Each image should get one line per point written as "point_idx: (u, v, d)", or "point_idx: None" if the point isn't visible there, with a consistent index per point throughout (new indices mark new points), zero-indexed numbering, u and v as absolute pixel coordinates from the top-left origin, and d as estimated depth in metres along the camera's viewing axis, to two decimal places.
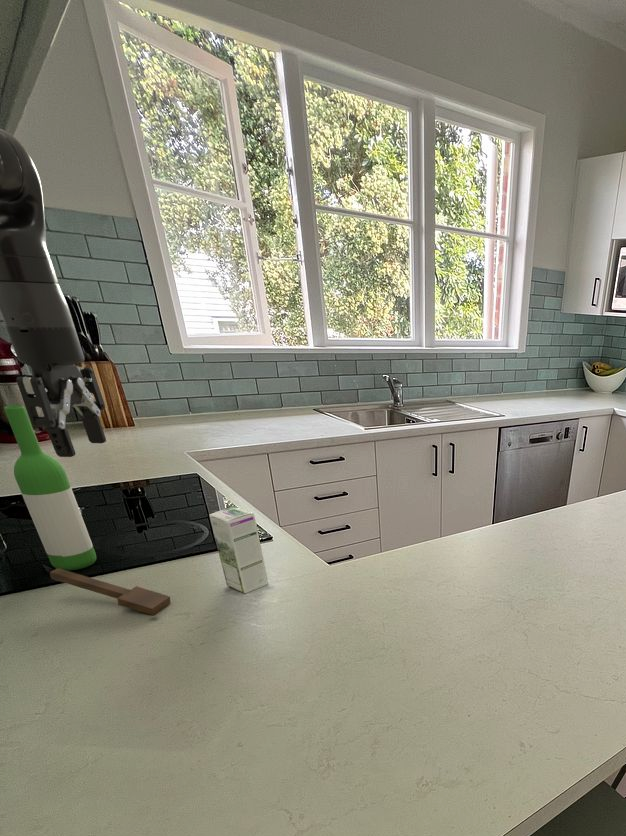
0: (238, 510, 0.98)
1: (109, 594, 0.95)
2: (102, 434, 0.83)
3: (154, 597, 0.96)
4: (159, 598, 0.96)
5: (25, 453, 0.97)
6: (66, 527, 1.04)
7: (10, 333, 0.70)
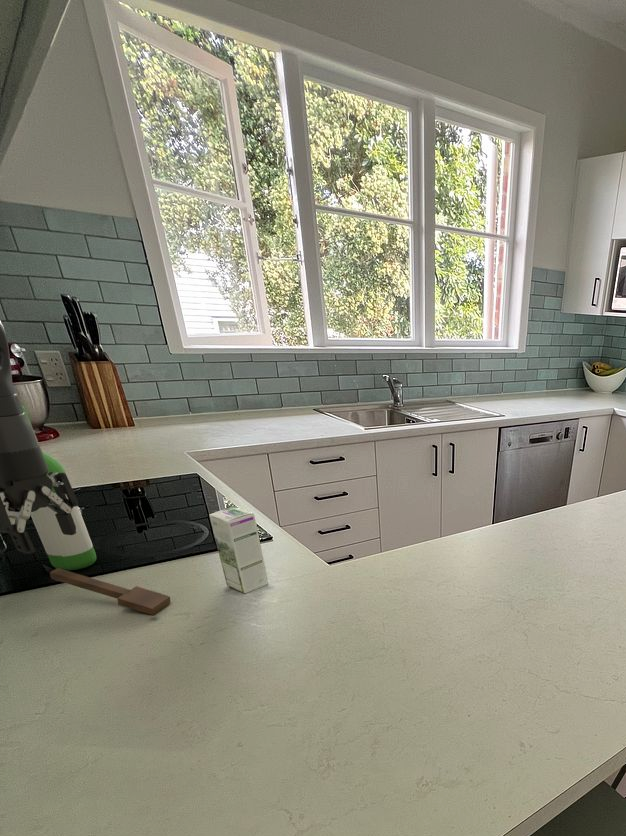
0: (238, 510, 0.98)
1: (109, 594, 0.95)
2: (72, 528, 0.95)
3: (154, 597, 0.96)
4: (159, 598, 0.96)
5: None
6: None
7: None
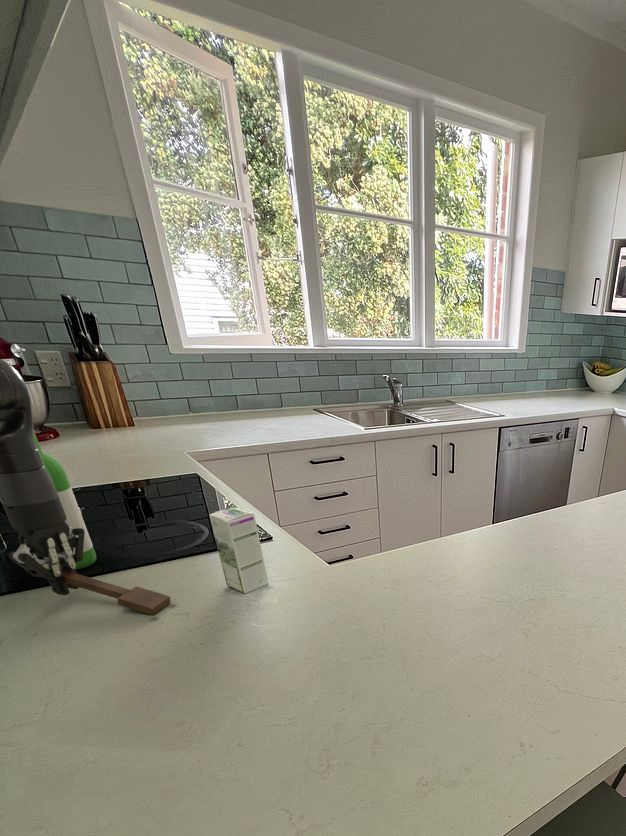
0: (238, 510, 0.98)
1: (109, 594, 0.95)
2: None
3: (154, 597, 0.96)
4: (159, 598, 0.96)
5: None
6: None
7: None
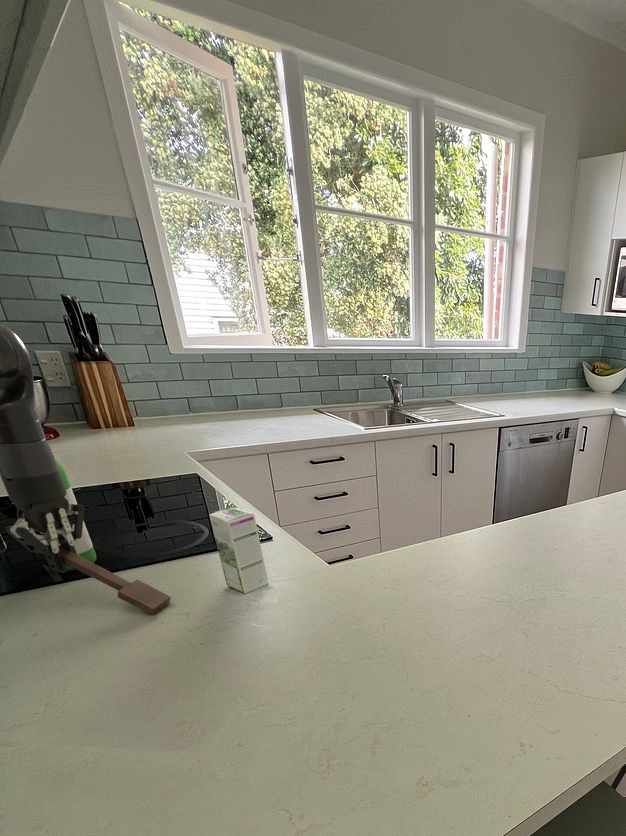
0: (238, 510, 0.98)
1: (108, 583, 0.94)
2: None
3: (155, 595, 0.96)
4: (160, 597, 0.96)
5: None
6: None
7: None
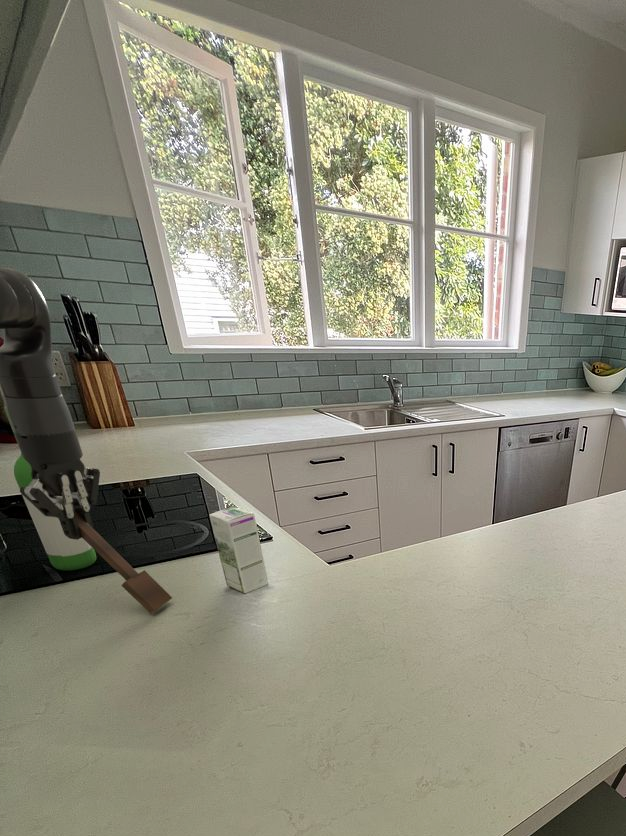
0: (238, 510, 0.98)
1: (115, 568, 0.92)
2: None
3: (158, 594, 0.95)
4: (162, 597, 0.96)
5: None
6: None
7: None
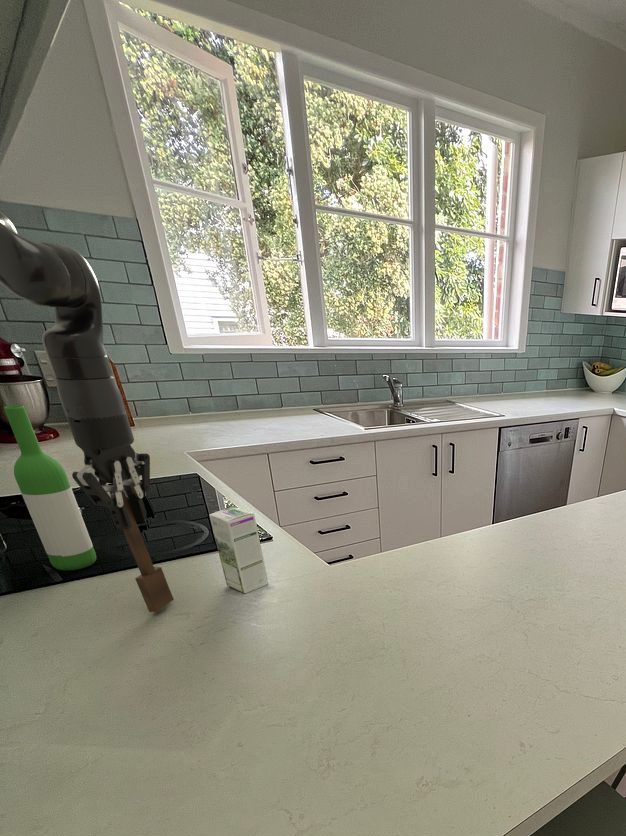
0: (238, 510, 0.98)
1: (137, 559, 0.90)
2: (143, 514, 0.88)
3: (164, 594, 0.95)
4: (166, 598, 0.96)
5: (25, 453, 0.97)
6: (66, 527, 1.04)
7: (68, 422, 0.77)
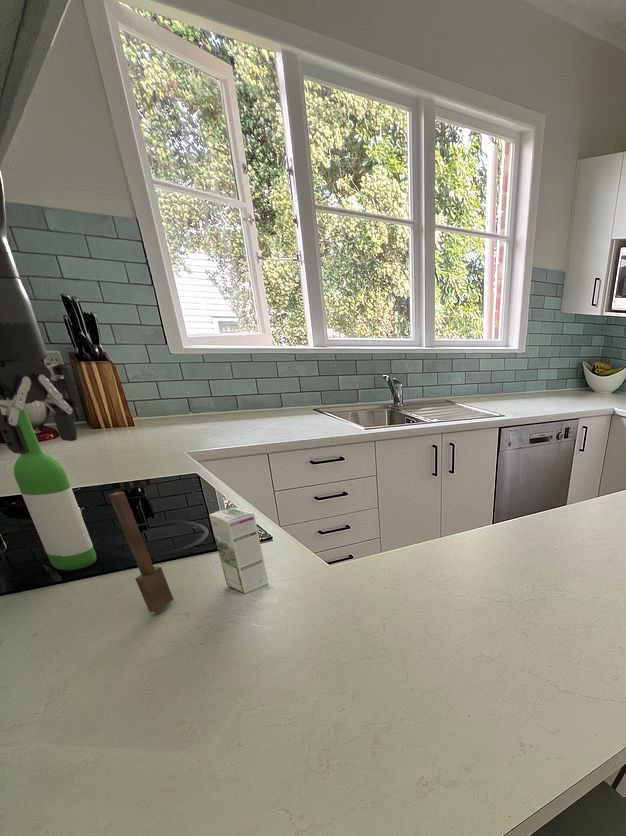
0: (238, 510, 0.98)
1: (137, 559, 0.90)
2: (72, 432, 0.82)
3: (164, 594, 0.95)
4: (166, 598, 0.96)
5: None
6: (66, 527, 1.04)
7: None
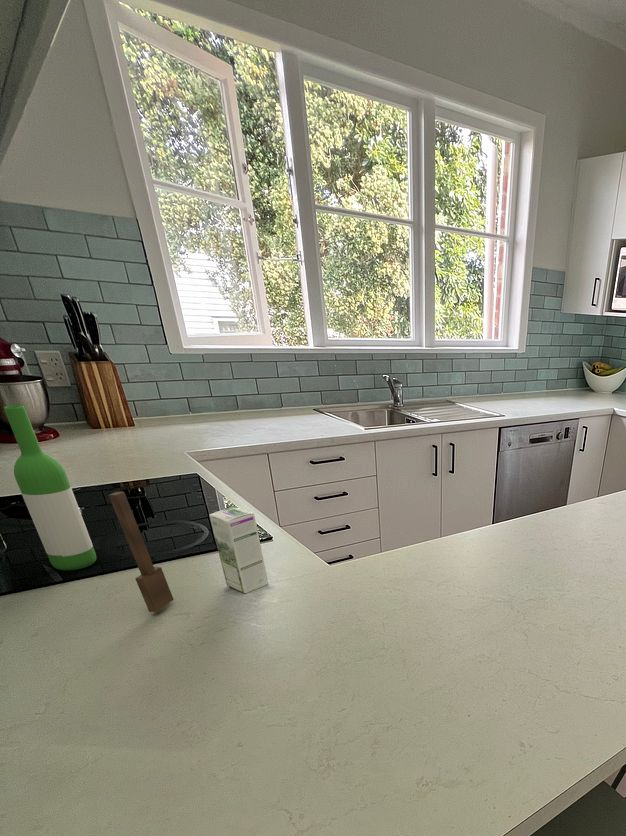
0: (238, 510, 0.98)
1: (137, 559, 0.90)
2: None
3: (164, 594, 0.95)
4: (166, 598, 0.96)
5: (25, 453, 0.97)
6: (66, 527, 1.04)
7: None
